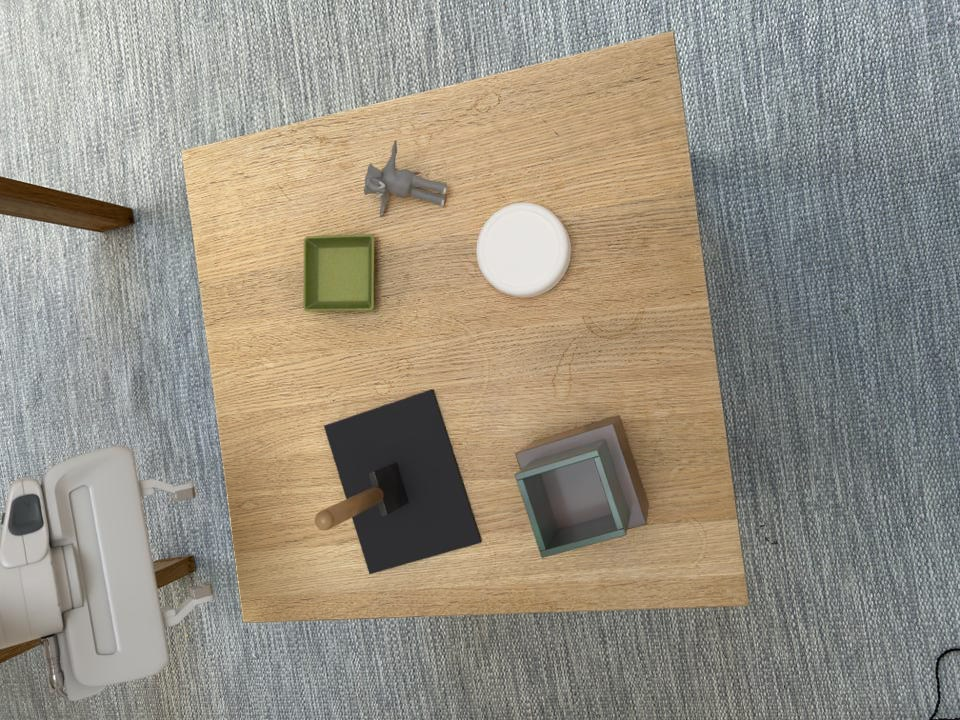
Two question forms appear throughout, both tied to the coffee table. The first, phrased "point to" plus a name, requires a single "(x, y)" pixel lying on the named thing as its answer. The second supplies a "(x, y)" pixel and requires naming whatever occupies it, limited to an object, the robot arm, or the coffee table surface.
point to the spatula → (368, 498)
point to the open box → (581, 487)
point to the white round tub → (523, 250)
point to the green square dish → (339, 273)
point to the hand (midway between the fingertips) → (203, 539)
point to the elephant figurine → (400, 183)
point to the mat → (404, 481)
